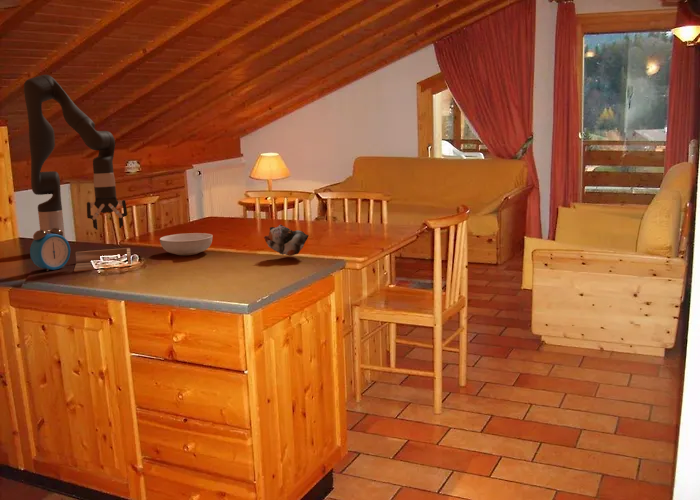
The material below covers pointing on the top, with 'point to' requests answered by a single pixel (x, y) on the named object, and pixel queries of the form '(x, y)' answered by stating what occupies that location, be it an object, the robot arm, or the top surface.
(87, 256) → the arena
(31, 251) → the alarm clock
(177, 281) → the top surface
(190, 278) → the top surface
